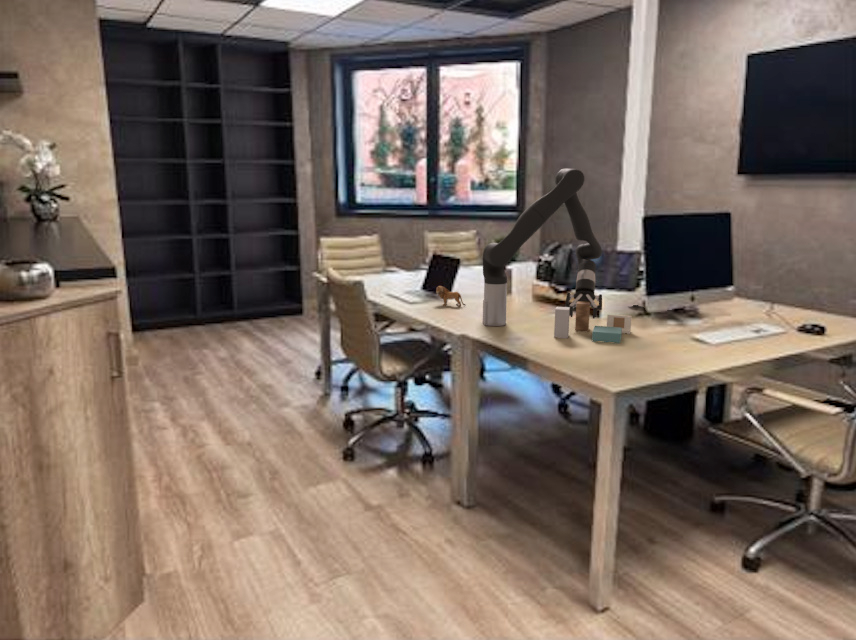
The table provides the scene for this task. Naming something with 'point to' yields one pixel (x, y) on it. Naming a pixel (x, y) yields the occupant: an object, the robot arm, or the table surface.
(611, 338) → the teal base block
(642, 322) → the table surface
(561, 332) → the grey block
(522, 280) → the table surface
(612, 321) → the plaque
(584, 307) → the walnut block
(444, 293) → the lion figurine
